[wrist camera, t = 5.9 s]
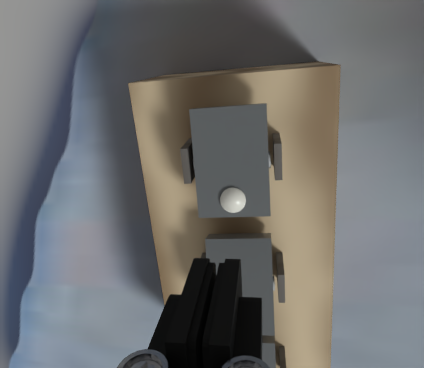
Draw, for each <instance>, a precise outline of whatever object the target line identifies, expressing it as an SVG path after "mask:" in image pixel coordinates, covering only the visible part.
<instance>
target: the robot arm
mask: <svg viewBox="0 0 424 368" xmlns="http://www.w3.org/2000/svg"><path fill="white" fill-rule="evenodd" d="M117 368H270V367H269V366H268V365H267V364H266V363H265V362H264V361H262V298H259V297H242V273H241V259H225V262H224V263H219V266H218V271H217V275H216V264H215V263H213V262H210V259H209V258H194V259H193V262H192V265H191V268H190V271H189V273H188V276H187V279H186V282H185V285H184V288H183V291H182V294H170V295H169V297H168V299H167V301H166V304H165V307H164V309H163V312H162V314H161V317H160V319H159V322H158V324H157V327H156V329H155V332H154V334H153V337H152V339H151V342H150V344H149V347H148V349H145V350H139V351H136V352H134V353H132V354H130V355H128V356H127V357H126V358H124V359H123V360H122V362H121V363H120V364H119V365H118V367H117Z"/></svg>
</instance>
